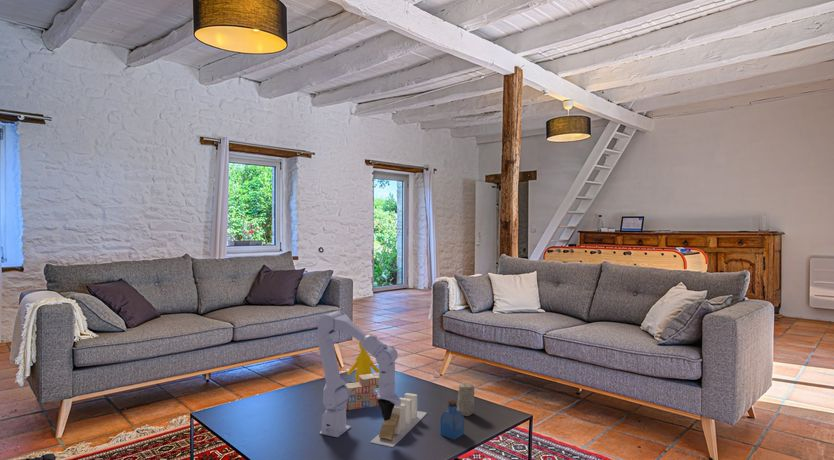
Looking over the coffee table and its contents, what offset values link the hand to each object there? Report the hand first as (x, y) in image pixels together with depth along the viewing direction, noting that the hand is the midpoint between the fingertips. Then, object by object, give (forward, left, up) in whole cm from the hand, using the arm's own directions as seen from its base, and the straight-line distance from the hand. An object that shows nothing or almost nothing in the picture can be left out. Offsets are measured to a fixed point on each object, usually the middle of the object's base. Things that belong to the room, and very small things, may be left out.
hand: (386, 419), depth 171 cm
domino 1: (+16, 0, -7) cm, 17 cm away
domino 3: (+5, 0, -7) cm, 8 cm away
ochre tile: (-1, 0, -6) cm, 7 cm away
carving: (+34, -19, -8) cm, 39 cm away
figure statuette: (+51, +38, -8) cm, 64 cm away
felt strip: (+12, 0, -7) cm, 14 cm away
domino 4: (+21, 0, -7) cm, 22 cm away
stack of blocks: (+25, +24, -8) cm, 35 cm away
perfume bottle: (+14, -20, -8) cm, 25 cm away
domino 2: (+10, 0, -7) cm, 12 cm away
